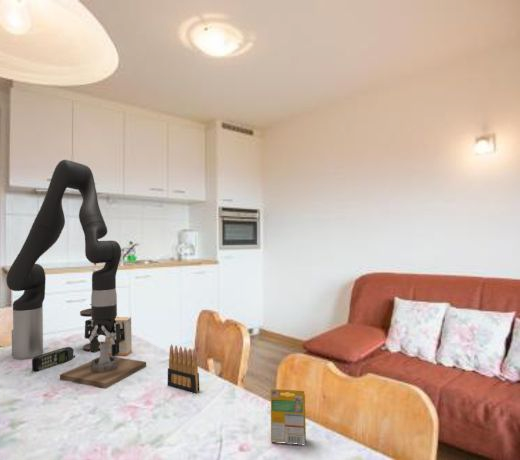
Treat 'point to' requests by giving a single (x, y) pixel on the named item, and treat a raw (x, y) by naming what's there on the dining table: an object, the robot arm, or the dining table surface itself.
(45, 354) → the mobile phone
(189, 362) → the ammunition clip
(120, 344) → the supplement box
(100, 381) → the walnut plate
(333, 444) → the dining table surface
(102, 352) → the rook chess piece
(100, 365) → the metal collar
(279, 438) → the crayon box
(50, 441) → the dining table surface
